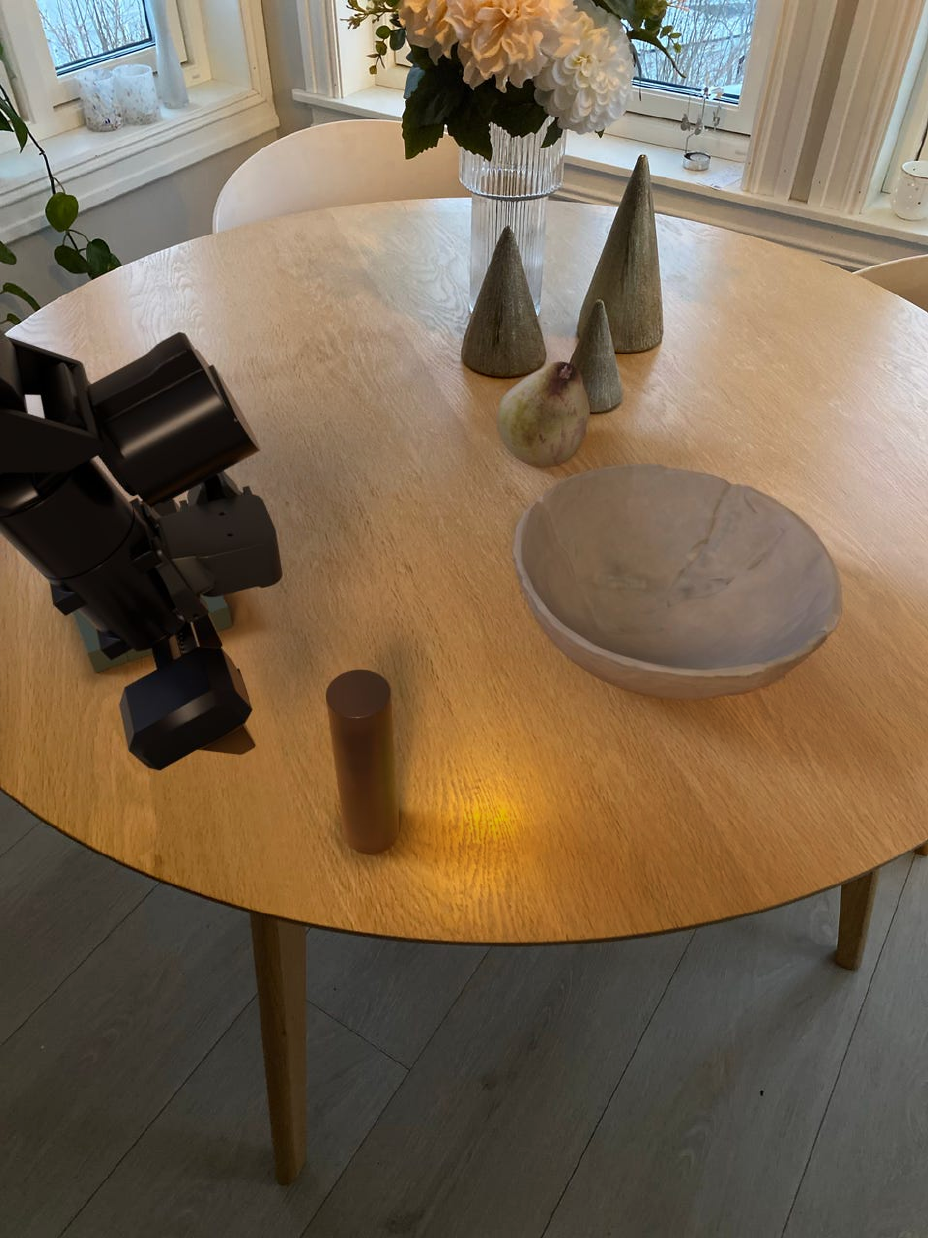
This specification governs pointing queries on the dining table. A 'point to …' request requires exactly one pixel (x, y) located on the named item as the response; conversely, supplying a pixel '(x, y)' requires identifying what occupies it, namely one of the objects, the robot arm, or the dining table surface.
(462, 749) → the dining table surface
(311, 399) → the dining table surface
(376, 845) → the dowel
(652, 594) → the bowl
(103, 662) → the board
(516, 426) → the fruit
